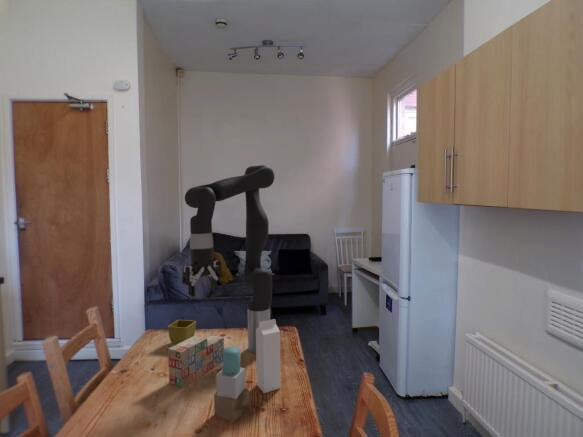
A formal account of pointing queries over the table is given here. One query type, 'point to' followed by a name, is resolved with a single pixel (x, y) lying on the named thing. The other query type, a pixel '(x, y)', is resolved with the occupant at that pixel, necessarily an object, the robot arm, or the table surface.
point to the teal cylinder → (231, 361)
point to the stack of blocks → (194, 358)
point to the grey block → (230, 384)
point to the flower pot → (181, 330)
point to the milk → (268, 356)
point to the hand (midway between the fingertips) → (203, 293)
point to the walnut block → (231, 406)
